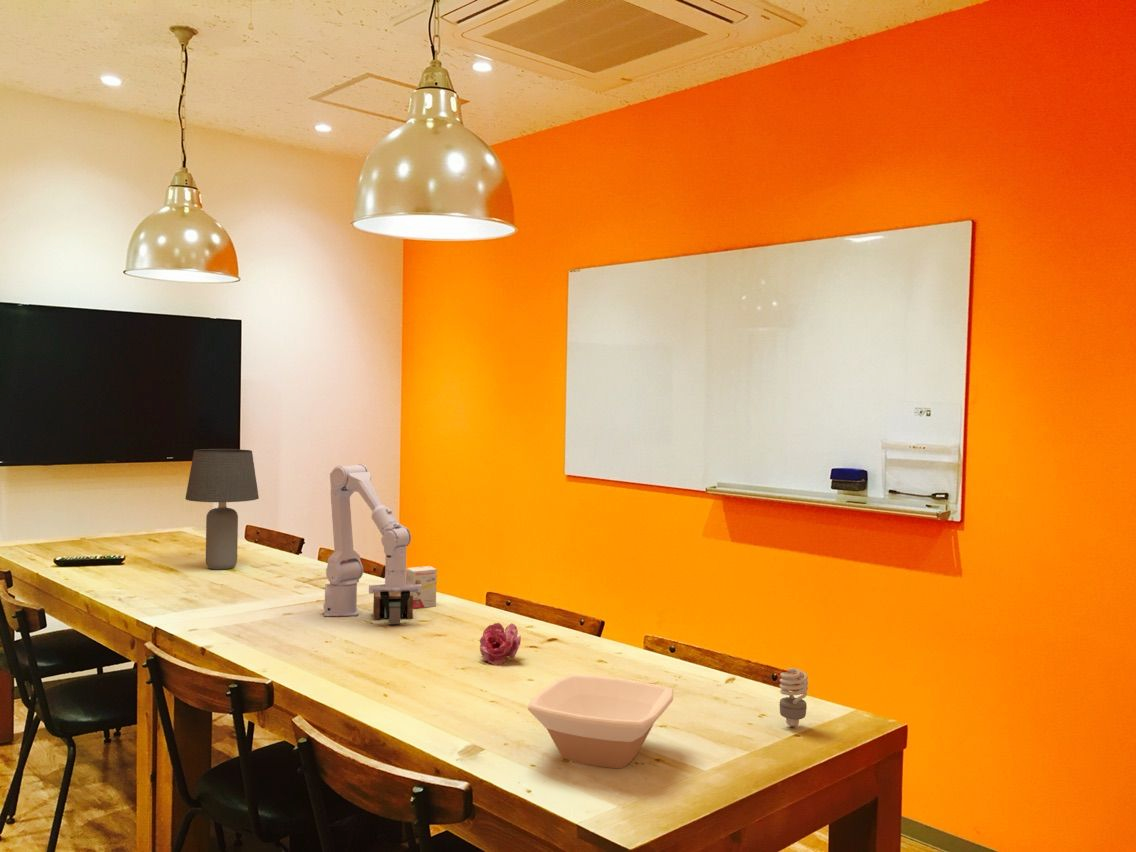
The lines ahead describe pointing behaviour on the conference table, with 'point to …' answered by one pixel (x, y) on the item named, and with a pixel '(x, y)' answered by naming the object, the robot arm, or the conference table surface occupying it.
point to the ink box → (423, 585)
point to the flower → (499, 643)
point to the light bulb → (790, 705)
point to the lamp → (222, 498)
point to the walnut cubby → (379, 605)
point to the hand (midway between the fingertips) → (394, 617)
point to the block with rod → (393, 611)
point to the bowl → (599, 717)
